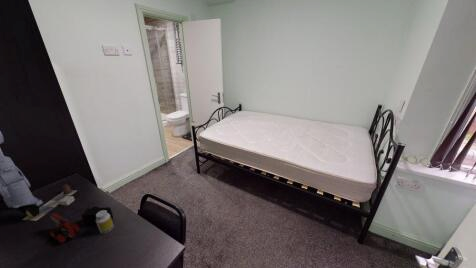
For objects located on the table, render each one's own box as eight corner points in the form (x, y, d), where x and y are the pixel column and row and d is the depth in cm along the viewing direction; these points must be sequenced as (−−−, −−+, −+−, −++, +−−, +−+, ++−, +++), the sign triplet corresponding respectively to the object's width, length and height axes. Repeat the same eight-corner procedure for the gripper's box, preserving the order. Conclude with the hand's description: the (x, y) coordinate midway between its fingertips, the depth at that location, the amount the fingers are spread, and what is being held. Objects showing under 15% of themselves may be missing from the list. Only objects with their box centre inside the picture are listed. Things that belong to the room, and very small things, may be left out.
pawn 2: (61, 194, 102) (58, 186, 100) (68, 190, 105) (64, 182, 103) (68, 194, 102) (64, 187, 99) (74, 190, 105) (70, 182, 103)
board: (22, 221, 86) (21, 219, 85) (66, 191, 106) (65, 189, 106) (37, 222, 85) (36, 220, 85) (78, 191, 106) (77, 190, 105)
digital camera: (115, 215, 90) (111, 205, 87) (109, 224, 85) (105, 213, 82) (93, 217, 89) (89, 206, 86) (86, 226, 84) (81, 215, 81)
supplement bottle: (116, 225, 84) (111, 210, 81) (106, 235, 79) (99, 219, 76) (107, 222, 86) (102, 207, 82) (97, 232, 81) (90, 216, 77)
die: (61, 207, 95) (58, 201, 93) (68, 201, 99) (66, 195, 97) (68, 207, 95) (66, 201, 93) (75, 201, 98) (73, 196, 97)
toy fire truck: (65, 246, 74) (55, 229, 71) (50, 236, 79) (40, 219, 75) (83, 233, 80) (76, 216, 76) (68, 224, 85) (60, 207, 81)
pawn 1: (26, 219, 85) (20, 210, 83) (34, 213, 89) (29, 204, 87) (33, 219, 85) (28, 211, 83) (41, 213, 89) (37, 205, 87)
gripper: (-6, 198, 78) (9, 220, 83) (24, 200, 78) (37, 222, 83) (14, 188, 85) (26, 209, 90) (42, 189, 84) (53, 210, 89)
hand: (33, 214), depth 87 cm, fingers closed on pawn 1, 3 cm apart
